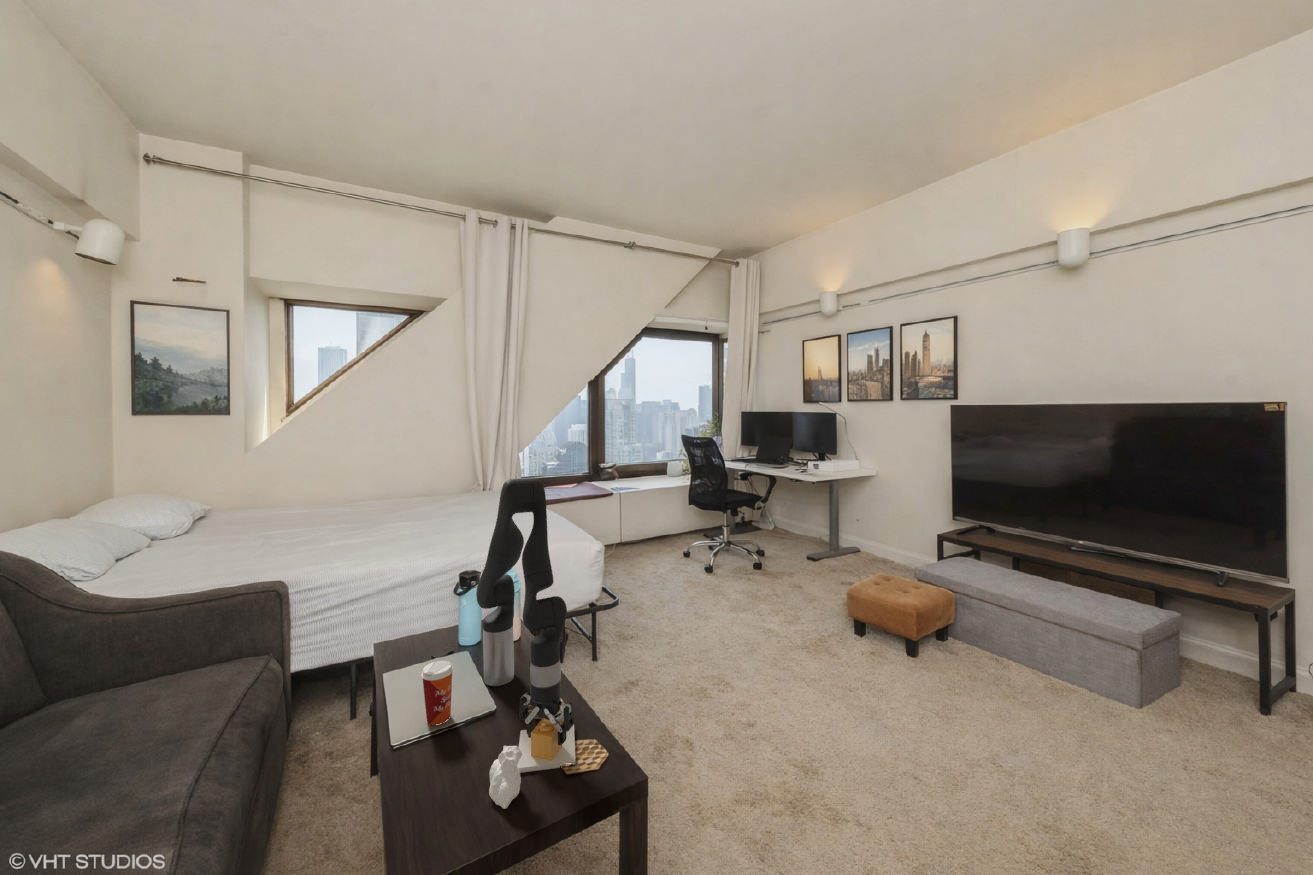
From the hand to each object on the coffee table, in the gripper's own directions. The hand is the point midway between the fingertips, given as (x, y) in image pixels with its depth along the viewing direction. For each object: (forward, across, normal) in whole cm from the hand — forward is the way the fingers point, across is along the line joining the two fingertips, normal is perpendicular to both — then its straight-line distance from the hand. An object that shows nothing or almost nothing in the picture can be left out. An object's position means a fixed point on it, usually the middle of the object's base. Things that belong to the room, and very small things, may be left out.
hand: (546, 739), depth 125 cm
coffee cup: (+4, +36, -2) cm, 36 cm away
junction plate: (+4, +1, -2) cm, 4 cm away
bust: (+4, +2, +14) cm, 15 cm away
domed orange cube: (+3, 0, 0) cm, 3 cm away
